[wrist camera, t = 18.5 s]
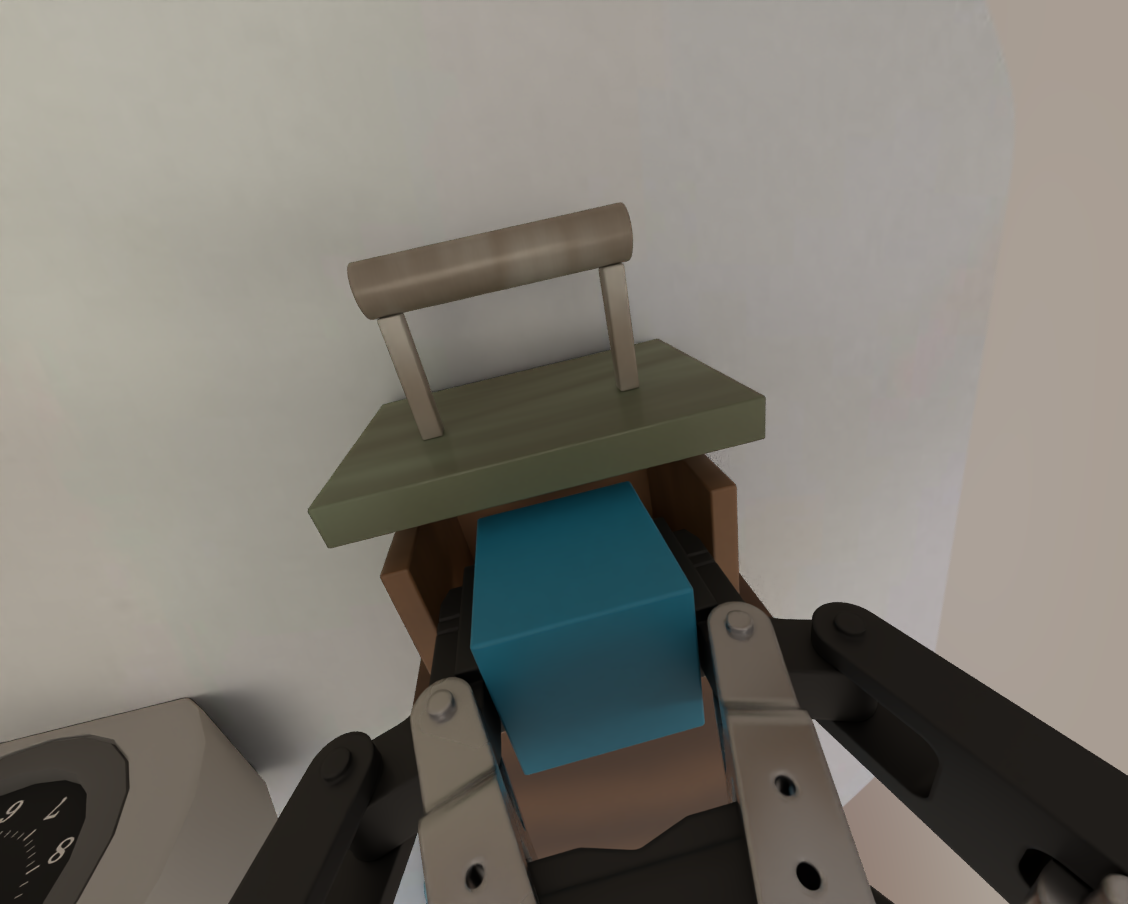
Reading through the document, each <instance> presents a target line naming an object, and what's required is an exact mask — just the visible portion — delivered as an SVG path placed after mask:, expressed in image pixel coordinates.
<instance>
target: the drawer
mask: <svg viewBox="0 0 1128 904" xmlns="http://www.w3.org/2000/svg"><path fill="white" fill-rule="evenodd" d="M632 250H633V234H632V226H631V221H630V217H629V214H628V211H627V209H626V207H625V205H624V204H623V203H621V202H620V203H615V204H611V205H606V206H602V207H597V208H593V209H588V210H584V211H579V212H575V213H570V214H566V215H561V216H557V217H552V218H548V219H543V220H539V221H534V222H530V223H526V224H521V225H517V226H512V227H508V228H503V229H499V230H494V231H490V232H485V233H481V234H476V235H472V236H467V237H463V238H458V239H454V240H449V241H445V242H441V243H436V244H432V245H427V246H423V247H418V248H414V249H409V250H405V251H400V252H396V253H391V254H387V255H382V256H378V257H373V258H369V259H364V260H360V261H356V262H351V263H349V264H348V267H347V274H348V280H349V284H350V287H351V290H352V293H353V296H354V298H355V300H356V302H357V304H358V306H359V308H360V309H361V311H362V312H363V314H364V315H365V316H366V317H367V318H368V319H370V320H374V319H378V318H380V319H378V320H377V322H378V325H379V327H380V330H381V333H382V335H383V338H384V340H385V343H386V346H387V348H388V351H389V353H390V356H391V359H392V361H393V364H394V366H395V369H396V372H397V374H398V377H399V380H400V382H401V385H402V387H403V390H404V393H405V395H406V398H407V399H404V400H399V401H395V402H391V403H387V404H383V405H382V406H381V408H380V409H379V410H378V412H377V413H376V415H375V416H374V417H373V419H372V420H371V422H370V423H369V424H368V426H367V427H366V429H365V430H364V431H363V433H362V434H361V436H360V437H359V438H358V440H357V441H356V443H355V444H354V445H353V447H352V448H351V450H350V451H349V452H348V454H347V455H346V457H345V458H344V459H343V461H342V462H341V464H340V465H339V466H338V468H337V469H336V471H335V472H334V473H333V475H332V476H331V478H330V479H329V480H328V482H327V483H326V485H325V486H324V487H323V489H322V490H321V492H320V493H319V494H318V496H317V497H316V499H315V500H314V501H313V503H312V504H311V506H310V507H309V508H308V513H309V515H310V517H311V518H312V520H313V522H314V524H315V526H316V527H317V529H318V531H319V533H320V534H321V536H322V538H323V540H324V542H325V543H326V545H327V547H328V548H334V547H338V546H342V545H346V544H350V543H354V542H358V541H362V540H366V539H370V538H373V537H377V536H381V535H385V534H389V533H393V532H395V534H394V537H393V540H392V543H391V546H390V549H389V552H388V554H387V557H386V560H385V563H384V566H383V569H382V572H381V575H380V578H381V580H382V582H383V584H384V586H385V588H386V590H387V592H388V594H389V596H390V598H391V600H392V602H393V604H394V606H395V608H396V610H397V611H398V613H399V615H400V617H401V619H402V621H403V623H404V625H405V627H406V629H407V631H408V633H409V635H410V637H411V639H412V641H413V643H414V645H415V647H416V649H417V650H418V652H419V654H420V656H421V658H422V660H423V662H424V664H425V666H426V668H427V670H428V672H429V674H430V675H431V668H432V661H433V654H434V648H435V641H436V636H437V627H438V623H439V613H440V606H441V603H442V602H443V600H444V598H445V597H446V595H447V593H448V592H449V590H450V589H453V588H457V587H461V586H462V584H463V573H464V568H465V567H467V566H470V565H474V564H475V554H476V537H477V521H478V519H480V518H483V517H487V516H491V515H495V514H499V513H503V512H507V511H511V510H514V509H518V508H522V507H526V506H530V505H534V504H538V503H542V502H546V501H550V500H554V499H558V498H562V497H566V496H570V495H574V494H578V493H582V492H586V491H590V490H594V489H598V488H602V487H606V486H609V485H613V484H617V483H621V482H625V481H629V482H630V483H631V484H632V486H633V488H634V489H635V491H636V493H637V494H638V496H639V498H640V500H641V501H642V503H643V505H644V506H645V508H646V510H647V511H648V513H649V515H650V517H651V518H652V519H654V518H658V517H663V518H664V519H665V521H666V522H667V524H668V526H669V527H670V529H671V530H672V532H674V531H678V530H681V529H686V530H687V531H689V532H691V533H692V534H694V535H695V536H697V537H699V539H700V540H701V541H702V543H703V544H704V546H705V547H706V548H707V550H708V552H709V553H710V554H711V555H712V557H713V558H714V560H715V562H717V564H718V565H719V567H720V568H721V569H722V571H723V572H724V574H725V575H726V576H727V578H728V579H729V581H730V582H731V583H732V585H733V586H734V588H735V589H736V590H737V592H738V593H739V561H738V524H737V487H736V484H735V483H734V482H733V481H732V480H731V479H730V478H729V477H728V476H727V475H726V474H725V473H724V472H723V471H721V470H720V469H719V468H718V467H717V466H716V465H715V464H714V463H713V462H712V461H711V460H710V459H709V458H708V457H707V456H706V455H705V453H709V452H713V451H717V450H721V449H725V448H729V447H733V446H737V445H741V444H745V443H749V442H753V441H757V440H761V439H764V438H765V401H766V398H765V396H764V395H762V394H760V393H758V392H756V391H754V390H752V389H751V388H749V387H747V386H745V385H743V384H741V383H739V382H738V381H736V380H734V379H732V378H730V377H728V376H726V375H725V374H723V373H721V372H719V371H717V370H715V369H714V368H712V367H710V366H708V365H706V364H704V363H702V362H701V361H699V360H697V359H695V358H693V357H691V356H689V355H688V354H686V353H684V352H682V351H680V350H678V349H676V348H675V347H673V346H671V345H669V344H667V343H665V342H663V341H662V340H660V339H654V340H650V341H646V342H642V343H638V344H634V339H633V331H632V323H631V316H630V308H629V300H628V292H627V284H626V277H625V269H624V265H623V264H622V262H626V261H628V260H630V258H631V256H632ZM595 268H599V276H600V283H601V289H602V296H603V302H604V309H605V315H606V322H607V328H608V335H609V341H610V348H611V350H608V351H604V352H600V353H596V354H592V355H588V356H583V357H579V358H575V359H571V360H567V361H562V362H558V363H554V364H550V365H546V366H542V367H537V368H533V369H529V370H525V371H521V372H516V373H512V374H508V375H504V376H500V377H496V378H491V379H487V380H483V381H479V382H475V383H471V384H466V385H462V386H458V387H454V388H450V389H445V390H441V391H437V392H433V393H432V392H431V389H430V386H429V383H428V381H427V378H426V375H425V372H424V369H423V366H422V364H421V361H420V358H419V355H418V352H417V349H416V347H415V344H414V341H413V338H412V335H411V333H410V330H409V327H408V324H407V321H406V318H405V316H404V312H409V311H413V310H417V309H422V308H426V307H430V306H435V305H439V304H443V303H448V302H452V301H456V300H461V299H465V298H469V297H474V296H478V295H482V294H487V293H491V292H496V291H500V290H504V289H509V288H513V287H517V286H522V285H526V284H530V283H535V282H539V281H543V280H548V279H552V278H556V277H561V276H565V275H569V274H574V273H578V272H582V271H587V270H591V269H595Z"/></svg>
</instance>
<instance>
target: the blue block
mask: <svg viewBox="0 0 1128 904" xmlns="http://www.w3.org/2000/svg"><path fill="white" fill-rule="evenodd" d="M470 649H471V651H472V654H473V656H474V658H475V661H476V663H477V665H478V668H479V670H480V672H481V675H482V677H483V679H484V682H485V684H486V686H487V689H488V691H489V693H490V696H491V698H492V700H493V703H494V705H495V707H496V710H497V712H498V714H499V717H500V719H501V721H502V724H503V726H504V728H505V730H506V733H507V735H508V737H509V740H510V742H511V744H512V747H513V749H514V751H515V754H516V756H517V758H518V761H519V763H520V765H521V768H522V770H523V772H524V774H525V775H530V774H533V773H537V772H540V771H544V770H547V769H551V768H555V767H558V766H562V765H565V764H569V763H572V762H576V761H579V760H583V759H586V758H590V757H593V756H597V755H601V754H604V753H608V752H611V751H615V750H618V749H622V748H625V747H629V746H632V745H636V744H640V743H643V742H647V741H650V740H654V739H657V738H661V737H664V736H668V735H671V734H675V733H678V732H682V731H686V730H689V729H693V728H696V727H700V726H703V725H704V724H705V719H704V707H703V696H702V684H701V673H700V661H699V650H698V639H697V627H696V616H695V604H694V593H693V588H692V586H691V584H690V583H689V581H688V579H687V577H686V576H685V574H684V572H683V571H682V569H681V567H680V566H679V564H678V562H677V561H676V559H675V557H674V555H673V554H672V552H671V550H670V549H669V547H668V545H667V544H666V542H665V540H664V539H663V537H662V535H661V533H660V532H659V530H658V528H657V527H656V525H655V523H654V522H653V520H652V518H651V517H650V515H649V513H648V511H647V510H646V508H645V506H644V505H643V503H642V501H641V500H640V498H639V496H638V494H637V493H636V491H635V489H634V488H633V486H632V484H631V483H630V482H629V481H625V482H621V483H617V484H613V485H609V486H606V487H602V488H598V489H594V490H590V491H586V492H582V493H578V494H574V495H570V496H566V497H562V498H558V499H554V500H550V501H546V502H542V503H538V504H534V505H530V506H526V507H522V508H518V509H514V510H511V511H507V512H503V513H499V514H495V515H491V516H487V517H483V518H480V519H478V521H477V537H476V554H475V572H474V589H473V607H472V624H471V642H470Z"/></svg>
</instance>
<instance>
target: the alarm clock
mask: <svg viewBox="0 0 1128 904" xmlns="http://www.w3.org/2000/svg"><path fill="white" fill-rule="evenodd" d="M277 820H278V818H277V815H276V812H275V809H274V806H273V803H272V800H271V797H270V794H269V791H268V788H267V785H266V782H265V781H264V780H263V779H262V778H261V777H260V775H259V774H258V773H257V772H256V771H255V770H254V769H253V767H252V766H251V765H250V764H249V763H248V762H247V761H246V759H245V758H244V757H243V756H242V755H241V754H240V752H239V751H238V750H237V749H236V748H235V747H234V746H233V744H232V743H231V742H230V741H229V740H228V739H227V738H226V736H225V735H224V734H223V733H222V732H221V731H220V729H219V728H218V727H217V726H216V725H215V724H214V723H213V721H212V720H211V719H210V718H209V717H208V716H207V715H206V713H205V712H204V711H203V710H202V709H201V708H200V707H199V706H198V705H197V704H196V703H194V702H193V701H192V700H191V699H188V698H185V699H179V700H175V701H171V702H167V703H163V704H159V705H155V706H151V707H147V708H143V709H139V710H135V711H130V712H126V713H122V714H118V715H114V716H110V717H106V718H102V719H98V720H94V721H90V722H86V723H82V724H78V725H74V726H70V727H66V728H62V729H58V730H54V731H50V732H46V733H42V734H38V735H34V736H30V737H25V738H21V739H17V740H13V741H9V742H5V743H1V744H0V904H228V903H229V901H230V900H231V898H232V896H233V895H234V893H235V891H236V890H237V888H238V886H239V884H240V883H241V881H242V879H243V878H244V876H245V874H246V872H247V871H248V869H249V867H250V866H251V864H252V862H253V861H254V859H255V857H256V855H257V854H258V852H259V850H260V849H261V847H262V845H263V844H264V842H265V840H266V838H267V837H268V835H269V833H270V832H271V830H272V828H273V826H274V825H275V823H276V821H277Z"/></svg>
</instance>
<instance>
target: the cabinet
mask: <svg viewBox="0 0 1128 904" xmlns="http://www.w3.org/2000/svg"><path fill="white" fill-rule="evenodd" d="M739 595H740V596H741V597H742V599H743V600H744V601H745V602H746V603H748V604H751V605H753V606H755V607H757V608H759V609H760V610H762V611H763V612H764V613H765V614H766V615H767V616H769V617H772V615H771V614H770V613H769V611H768V610H767V609H766V607H765V606H764V605H763V603H762V602H761V601H760V600H759V598H758V597H757V596H756V594H755V593H754V592H753V590H752V589H751V588H750V586H749V585H748V584H747V582H746V581H745V580H744V579H743V577H742V576H741V575H740V573H739ZM772 618H773V617H772ZM429 682H430V674H429V672H428V670H427V668H426V666H425V664H424V662H423V660H422V658H421V662H420V668H419V674H418V679H417V685H416V691H415V696H414V702H413V706H414V704H415V702H416V700H417V699H418V697H419V696H420V695H421V693H422V692H423V691H424V690H425V689H426V688H428V687H429ZM701 684H702V696H703V707H704V719H705V724H704V725H703V726H700V727H696V728H693V729H689V730H686V731H682V732H678V733H675V734H671V735H668V736H664V737H661V738H657V739H654V740H650V741H647V742H643V743H640V744H636V745H632V746H629V747H625V748H622V749H618V750H615V751H611V752H608V753H604V754H601V755H597V756H593V757H590V758H586V759H583V760H579V761H576V762H572V763H569V764H565V765H562V766H558V767H555V768H551V769H547V770H544V771H540V772H537V773H533V774H530V775H525V774H524V772H523V770H522V768H521V765H520V763H519V761H518V758H517V756H516V754H515V751H514V749H513V747H512V744H511V742H510V740H509V737H508V735H507V733H506V731H504V732H501V755H502V757H503V759H504V762H505V765H506V768H507V771H508V774H509V777H510V780H511V783H512V786H513V789H514V792H515V795H516V798H517V801H518V804H519V807H520V810H521V813H522V816H523V818H524V821H525V824H526V827H527V830H528V833H529V836H530V839H531V842H532V844H533V847H534V850H535V852H536V855H537V857H538V859H541V858H545V857H548V856H552V855H555V854H558V853H562V852H565V851H569V850H572V849H576V848H579V847H584V848H605V849H626V850H635V849H639V848H641V847H643V846H644V845H646V844H647V843H649V842H650V841H652V840H653V839H654V838H656V837H657V836H659V835H660V834H662V833H663V832H664V831H666V830H667V829H669V828H670V827H672V826H673V825H674V824H676V823H677V822H679V821H680V820H682V819H683V818H684V817H686V816H688V815H692V814H695V813H698V812H702V811H705V810H709V809H712V808H716V807H719V806H722V805H726V804H728V798H727V789H726V782H725V775H724V768H723V762H722V755H721V749H720V743H719V736H718V730H717V723H716V717H715V710H714V704H713V693H712V688H711V686H710V684H709V682H708V680H707V678H706V676H705V677H701Z"/></svg>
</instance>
